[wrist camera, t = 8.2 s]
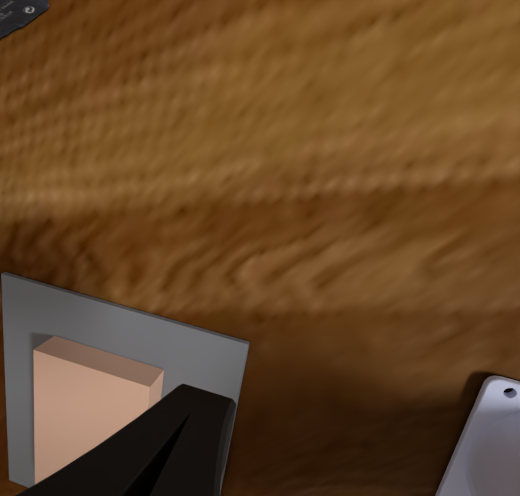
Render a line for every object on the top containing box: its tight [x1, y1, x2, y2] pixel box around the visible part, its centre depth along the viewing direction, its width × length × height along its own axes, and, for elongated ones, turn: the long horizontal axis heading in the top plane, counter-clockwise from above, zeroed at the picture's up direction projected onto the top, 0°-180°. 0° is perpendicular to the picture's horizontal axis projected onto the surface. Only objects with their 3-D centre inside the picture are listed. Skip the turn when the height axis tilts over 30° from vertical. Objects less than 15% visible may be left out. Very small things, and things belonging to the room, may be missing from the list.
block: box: [33, 336, 164, 484], centre depth 23 cm, size 2×10×7 cm
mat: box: [1, 272, 250, 494], centre depth 24 cm, size 15×16×1 cm
